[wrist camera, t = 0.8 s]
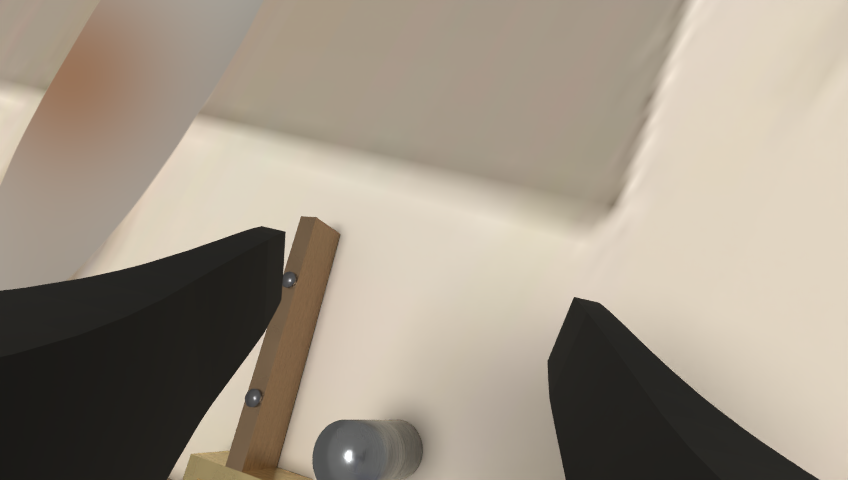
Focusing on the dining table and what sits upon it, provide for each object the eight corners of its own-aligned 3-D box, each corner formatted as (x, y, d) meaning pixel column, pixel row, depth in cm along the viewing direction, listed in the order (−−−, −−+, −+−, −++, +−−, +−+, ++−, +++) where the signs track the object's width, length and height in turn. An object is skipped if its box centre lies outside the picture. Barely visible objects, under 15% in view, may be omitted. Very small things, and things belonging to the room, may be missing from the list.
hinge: (280, 612, 24) (237, 638, 21) (44, 494, 32) (-8, 501, 30) (373, 236, 30) (350, 218, 28) (156, 220, 39) (121, 204, 36)
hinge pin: (416, 486, 24) (363, 505, 19) (367, 471, 25) (304, 484, 20) (427, 427, 25) (379, 428, 20) (379, 414, 26) (322, 413, 21)
